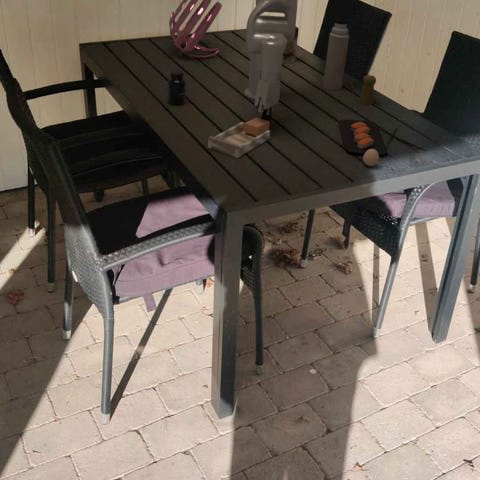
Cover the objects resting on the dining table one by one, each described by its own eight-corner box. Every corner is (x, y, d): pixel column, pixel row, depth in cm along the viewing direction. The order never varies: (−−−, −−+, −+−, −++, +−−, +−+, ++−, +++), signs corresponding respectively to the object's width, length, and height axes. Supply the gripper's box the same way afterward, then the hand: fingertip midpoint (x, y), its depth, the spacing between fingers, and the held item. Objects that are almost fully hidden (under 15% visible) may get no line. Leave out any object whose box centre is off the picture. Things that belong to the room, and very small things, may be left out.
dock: (241, 131, 241) (242, 119, 238) (269, 140, 236) (270, 128, 233) (208, 149, 226) (208, 137, 224) (237, 159, 221) (237, 147, 219)
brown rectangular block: (255, 128, 243) (256, 117, 240) (269, 132, 240) (270, 121, 238) (243, 134, 237) (244, 123, 235) (257, 138, 234) (258, 127, 232)
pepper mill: (374, 101, 273) (379, 75, 267) (371, 106, 268) (375, 79, 262) (360, 98, 275) (364, 72, 269) (356, 103, 270) (360, 76, 264)
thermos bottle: (344, 86, 286) (354, 20, 271) (336, 91, 280) (346, 24, 265) (327, 82, 289) (336, 16, 274) (319, 87, 283) (328, 20, 268)
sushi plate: (337, 123, 252) (338, 114, 250) (416, 128, 252) (418, 119, 250) (345, 156, 228) (346, 146, 226) (432, 162, 228) (434, 152, 226)
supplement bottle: (182, 106, 256) (183, 76, 250) (165, 104, 257) (165, 74, 251) (187, 100, 262) (187, 70, 255) (170, 98, 263) (170, 68, 256)
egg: (380, 166, 221) (383, 150, 218) (369, 170, 219) (372, 153, 216) (369, 160, 225) (372, 144, 222) (358, 164, 222) (361, 148, 219)
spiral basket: (247, 9, 309) (199, -29, 301) (232, 40, 290) (181, 0, 282) (215, 49, 328) (169, 14, 320) (199, 80, 309) (151, 44, 301)
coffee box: (276, 63, 306) (279, 28, 298) (272, 59, 312) (275, 24, 303) (295, 63, 308) (299, 28, 300) (291, 59, 314) (294, 24, 305)
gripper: (271, 67, 239) (267, 115, 249) (249, 78, 228) (246, 127, 238) (289, 72, 236) (285, 120, 246) (268, 83, 225) (263, 133, 235)
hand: (265, 124), depth 242 cm, fingers closed
